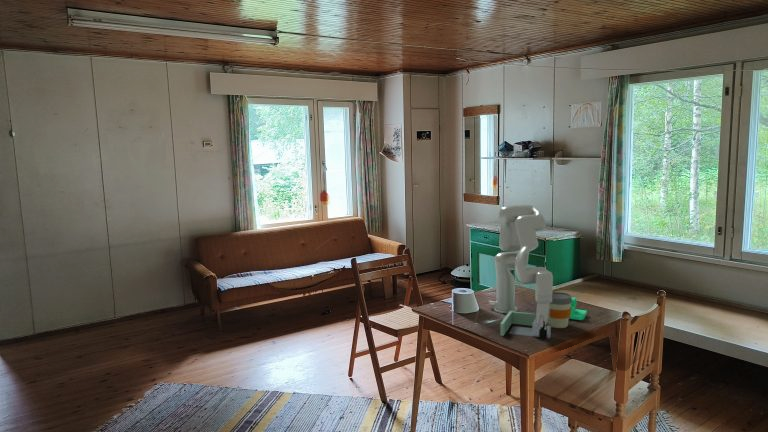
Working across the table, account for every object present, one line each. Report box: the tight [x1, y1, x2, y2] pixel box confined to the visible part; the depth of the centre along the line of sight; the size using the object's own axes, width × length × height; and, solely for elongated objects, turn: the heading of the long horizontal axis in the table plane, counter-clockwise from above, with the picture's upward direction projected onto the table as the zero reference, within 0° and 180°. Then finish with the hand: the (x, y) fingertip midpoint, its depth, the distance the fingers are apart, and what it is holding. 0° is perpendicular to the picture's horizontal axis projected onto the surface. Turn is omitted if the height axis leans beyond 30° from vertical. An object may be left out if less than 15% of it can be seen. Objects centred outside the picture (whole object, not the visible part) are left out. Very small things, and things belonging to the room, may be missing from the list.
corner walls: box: [499, 311, 536, 337], centre depth 253 cm, size 16×20×6 cm
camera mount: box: [569, 297, 588, 321], centre depth 270 cm, size 12×8×10 cm, turn 146°
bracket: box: [531, 318, 552, 339], centre depth 248 cm, size 8×8×6 cm
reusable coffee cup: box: [548, 291, 573, 329], centre depth 259 cm, size 13×12×15 cm
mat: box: [508, 325, 535, 338], centre depth 253 cm, size 12×11×1 cm
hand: (543, 336), depth 245 cm, fingers closed on bracket, 2 cm apart
